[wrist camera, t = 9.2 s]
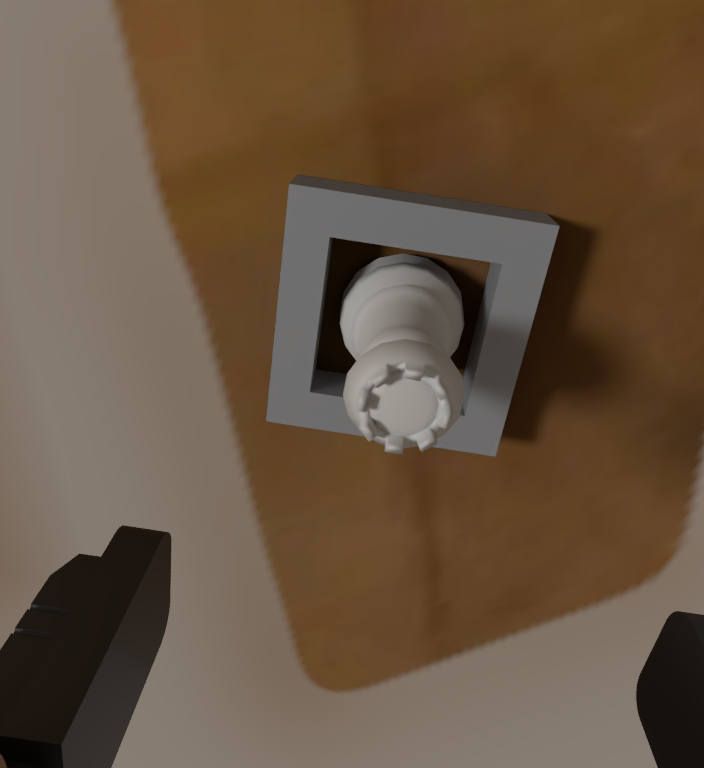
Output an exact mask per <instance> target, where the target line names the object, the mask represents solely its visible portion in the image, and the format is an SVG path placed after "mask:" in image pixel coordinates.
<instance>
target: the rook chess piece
mask: <svg viewBox="0 0 704 768" xmlns="http://www.w3.org/2000/svg"><path fill="white" fill-rule="evenodd" d="M340 327H341V331H342V335H343V340H344V344H345V346H346V347H347V349H348V350H349V352H350V353H351V354H352V356H353V357H354V359H355V360H356V362H355V364H354V365H353V366H352V368H351V369H350V371H349V372H348V373H347V377H346V382H345V387H344V392H343V397H344V402H345V406H346V410H347V414H348V416H349V418H350V419H351V420H352V422H353V423H354V424H355V426H356V427H357V428H358V430H359V431H360V432H361V433H362V434H363V435H364V436H365V437H366V439H367V440H368V441H369V442H370V441H371V440H374V441H376V442H377V443H379V444H382V445H385V452H390V453H395V454H401V455H403V448H408V447H415V446H419V448H420V450H421V452H423V451H425V450H427V449H428V448H430V447H432V446H434V445H436V444H437V438H439V437H441V436H443V435H445V434H446V432H447V431H448V430H449V429H450V428H451V426H452V425H453V424H454V423H455V422H456V421H457V419H458V418H459V416H460V413H461V409H462V406H463V403H464V399H465V393H464V386H463V379H462V375H461V374H460V372H459V370H458V369H457V367H456V366H455V364H454V363H453V361H452V360H451V358H450V357H451V356H452V354H453V353H454V352H455V351H456V349H457V348H458V346H459V342H460V338H461V335H462V331H463V328H464V311H463V304H462V297H461V292H460V290H459V289H458V287H457V286H456V284H455V282H454V281H453V279H452V278H451V276H450V274H449V273H448V272H447V271H446V270H444V269H443V268H441V267H440V266H438V265H437V264H435V263H434V262H432V261H431V260H429V259H428V258H423V257H418V256H413V255H409V254H404V253H403V254H397V255H392V256H387V257H381V258H378V259H376V260H374V261H373V262H371V263H370V264H368V265H367V266H365V267H364V268H362V269H361V270H359V271H357V273H356V274H355V276H354V277H353V279H352V280H351V282H350V283H349V285H348V286H347V287H346V289H345V290H344V293H343V298H342V304H341V309H340Z"/></svg>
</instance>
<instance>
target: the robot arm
mask: <svg viewBox="0 0 704 768" xmlns="http://www.w3.org/2000/svg"><path fill="white" fill-rule="evenodd" d="M170 581H171V536H170V533H168V532H162V531H155V530H150V529H142V528H136V527H129V526H121V527H120V528H119V529H118V530H117V532H116V533H115V534H114V536H113V538H112V540H111V541H110V543H109V545H108V546H107V548H106V550H105V551H104V553H103V555H102V556H101V557H98V556H91V555H84V554H79V555H77V556H76V557H75V558H73V559H72V560H71V561H69V562H68V563H66V564H65V565H64V566H63V567H61V568H60V569H58V570H57V571H56V572H54V573H53V574H52V575H50V577H49V578H48V580H47V581H46V582H45V584H44V586H43V587H42V589H41V590H40V591H39V593H38V594H37V596H36V597H35V599H34V601H33V602H32V603H31V608H30V610H27V611H26V612H25V614H24V615H23V617H22V618H21V620H20V621H19V623H18V624H17V626H16V627H15V632H14V634H11V635H10V636H9V638H8V639H7V641H6V642H5V644H4V645H3V647H2V648H1V650H0V768H111V767H112V764H113V762H114V759H115V757H116V754H117V752H118V749H119V747H120V744H121V742H122V739H123V737H124V735H125V732H126V730H127V727H128V725H129V722H130V720H131V717H132V715H133V712H134V709H135V707H136V705H137V702H138V700H139V697H140V695H141V692H142V690H143V687H144V685H145V682H146V680H147V677H148V675H149V672H150V670H151V667H152V665H153V663H154V660H155V657H156V655H157V652H158V650H159V648H160V645H161V642H162V639H163V636H164V633H165V629H166V625H167V620H168V615H169V608H170ZM636 700H637V708H638V714H639V717H640V721H641V723H642V726H643V729H644V731H645V734H646V737H647V739H648V742H649V745H650V748H651V750H652V753H653V756H654V758H655V761H656V764H657V766H658V768H704V615H700V614H693V613H686V612H680V611H676V612H673V613H672V614H671V615H670V616H669V617H668V619H667V620H666V622H665V624H664V626H663V628H662V630H661V633H660V635H659V637H658V639H657V641H656V643H655V645H654V647H653V649H652V651H651V653H650V655H649V657H648V659H647V661H646V663H645V666H644V667H643V669H642V671H641V673H640V676H639V679H638V683H637V692H636Z"/></svg>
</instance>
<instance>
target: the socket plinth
mask: <svg viewBox="0 0 704 768" xmlns="http://www.w3.org/2000/svg"><path fill="white" fill-rule="evenodd" d="M559 227H560V226H559V225H558V224H557V223H556V222H555V221H554V220H553V219H552V218H551V217H550V216H548V215H547V214H546V213H540V212H534V211H527V210H521V209H514V208H508V207H502V206H495V205H489V204H483V203H476V202H470V201H463V200H457V199H451V198H444V197H438V196H431V195H425V194H419V193H412V192H406V191H400V190H393V189H387V188H380V187H374V186H368V185H361V184H355V183H348V182H342V181H336V180H329V179H323V178H317V177H310V176H304V175H297V176H296V177H295V178H294V179H293V180H292V181H291V182H290V183H289V192H288V202H287V212H286V223H285V233H284V243H283V253H282V264H281V274H280V284H279V295H278V305H277V315H276V325H275V336H274V346H273V356H272V366H271V377H270V387H269V397H268V407H267V418H266V421H268V422H274V423H281V424H287V425H294V426H300V427H307V428H313V429H320V430H326V431H333V432H339V433H346V434H352V435H359V436H364V435H363V434H362V433H361V432H360V431H359V430H358V428H357V427H356V426H355V424H354V423H353V422H352V420H351V419H350V418H349V416H348V414H347V410H346V406H345V402H344V397H343V392H344V387H345V382H346V377H347V374H343V373H337V372H330V371H324V370H317V369H316V365H317V357H318V349H319V342H320V334H321V326H322V318H323V311H324V303H325V295H326V288H327V280H328V272H329V265H330V257H331V249H332V242H333V238H339V239H345V240H351V241H358V242H364V243H371V244H377V245H383V246H390V247H396V248H403V249H409V250H416V251H422V252H428V253H435V254H441V255H448V256H454V257H460V258H467V259H473V260H480V261H486V262H491V263H490V268H489V272H488V276H487V280H486V284H485V288H484V293H483V297H482V301H481V305H480V309H479V314H478V318H477V322H476V326H475V330H474V334H473V339H472V343H471V347H470V351H469V355H468V360H467V364H466V368H465V372H464V376H463V386H464V393H465V399H464V403H463V406H462V409H461V413H460V416H459V418H458V419H457V421H456V422H455V423H454V424H453V425H452V426H451V428H450V429H449V430H448V431H447V432H446V434H445V435H443V436H441V437H439V438H437V444H436V445H434V446H432V447H437V448H444V449H450V450H457V451H463V452H470V453H476V454H483V455H489V456H496V452H497V449H498V445H499V442H500V438H501V434H502V431H503V427H504V424H505V420H506V417H507V413H508V409H509V406H510V402H511V399H512V395H513V392H514V388H515V384H516V381H517V377H518V374H519V370H520V366H521V363H522V359H523V356H524V352H525V349H526V345H527V341H528V338H529V334H530V331H531V327H532V323H533V320H534V316H535V313H536V309H537V306H538V302H539V298H540V295H541V291H542V288H543V284H544V280H545V277H546V273H547V270H548V266H549V263H550V259H551V255H552V252H553V248H554V245H555V241H556V237H557V234H558V230H559Z"/></svg>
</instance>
